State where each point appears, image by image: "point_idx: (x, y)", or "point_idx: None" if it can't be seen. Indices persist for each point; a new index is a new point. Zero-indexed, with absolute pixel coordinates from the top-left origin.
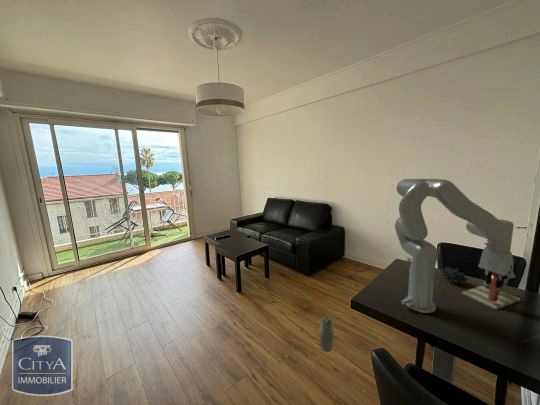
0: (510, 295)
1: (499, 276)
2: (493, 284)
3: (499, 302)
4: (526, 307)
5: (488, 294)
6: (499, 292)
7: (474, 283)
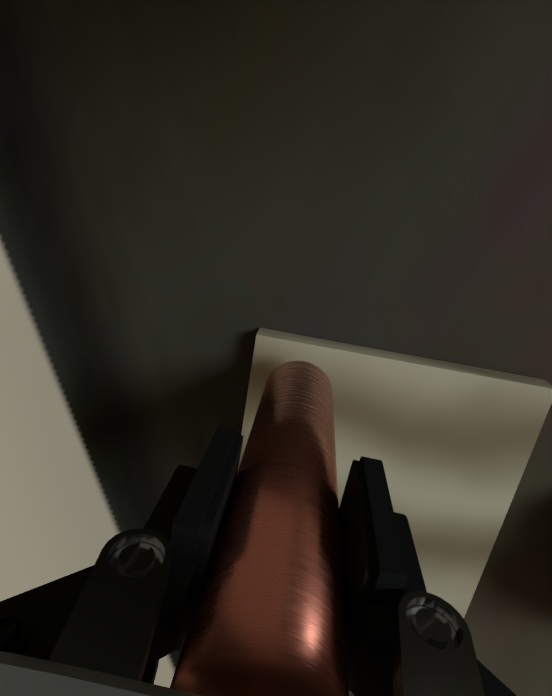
0: None
1: (127, 613)
2: (279, 468)
3: None
4: None
5: None
6: None
7: (514, 651)
